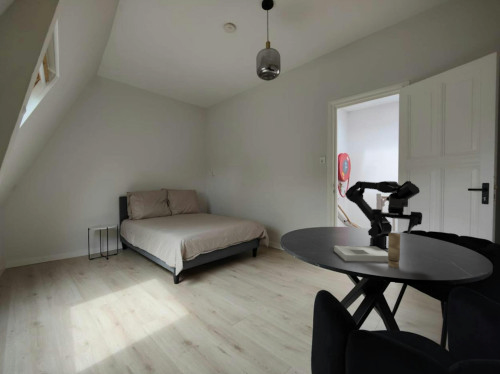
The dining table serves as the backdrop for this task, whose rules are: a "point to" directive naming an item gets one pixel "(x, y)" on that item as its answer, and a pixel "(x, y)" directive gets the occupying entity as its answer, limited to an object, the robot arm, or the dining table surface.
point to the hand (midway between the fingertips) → (395, 232)
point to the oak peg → (393, 250)
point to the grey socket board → (361, 253)
